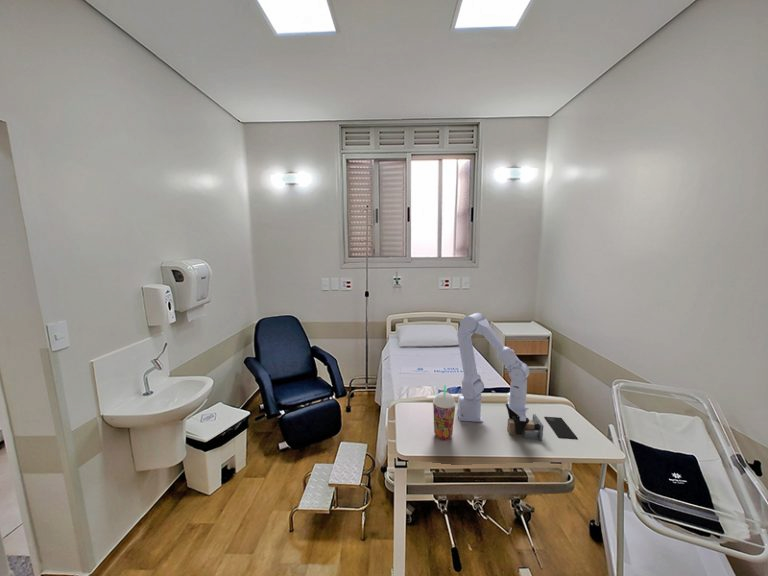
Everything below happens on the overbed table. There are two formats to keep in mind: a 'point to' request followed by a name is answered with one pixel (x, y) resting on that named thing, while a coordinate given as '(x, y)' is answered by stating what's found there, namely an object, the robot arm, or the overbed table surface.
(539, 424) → the bracket
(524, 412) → the robot arm
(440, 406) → the smoothie
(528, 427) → the brown rectangular block
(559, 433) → the smartphone
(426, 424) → the overbed table surface
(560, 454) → the overbed table surface
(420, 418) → the overbed table surface
